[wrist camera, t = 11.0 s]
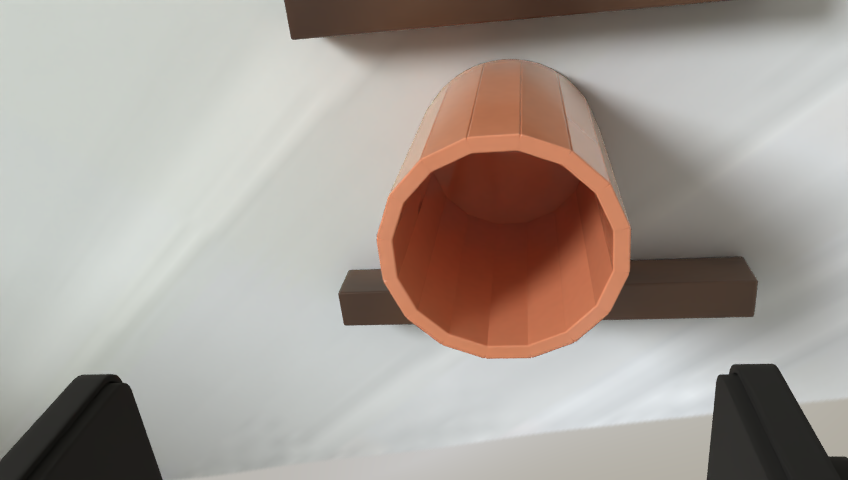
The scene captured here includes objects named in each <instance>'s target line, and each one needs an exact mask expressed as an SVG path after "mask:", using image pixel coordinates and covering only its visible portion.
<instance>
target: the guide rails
mask: <svg viewBox="0 0 848 480" xmlns="http://www.w3.org/2000/svg"><path fill="white" fill-rule="evenodd" d="M719 1H730V0H284V2H285V7H286V13H287V18H288V24H289V29H290V34H291V39H293V40H296V39H308V38H319V37H330V36H341V35H352V34H363V33H374V32H386V31H397V30H408V29H419V28H430V27H441V26H452V25H463V24H475V23H486V22H497V21H508V20H519V19H530V18H541V17H552V16H564V15H575V14H586V13H597V12H608V11H619V10H630V9H641V8H653V7H664V6H675V5H686V4H697V3H708V2H719ZM757 286H758V281H757V279H756V277H755V276H754V274H753V272H752V271H751V269H750V267H749V266H748V264H747V262H746V261H745V259H744V258H743V257H722V258H693V259H663V260H634V261H630V272H629V276H628V278H627V280H626V282H625V284H624V286H623V288H622V290H621V292H620V294H619V296H618V298H617V300H616V302H615V304H614V306H613V308H612V310H611V311H610V312H609V314H608V315H607V316H606V317H604V318H603V319H602V320H630V319H677V318H725V317H753V316H754V312H755V303H756V295H757ZM338 295H339V300H340V305H341V311H342V316H343V322H344V325H394V324H413V323H412V322H411V321H409V320H408V319H407V317H405V315H404V314H403V312H402V311H401V309H400V307H399V306H398V304H397V303H396V301H395V299H394V298H393V296H392V295H391V293H390V291H389V290H388V288H387V287H386V285H385V283H384V280H383V279H382V272H381V269H371V270H350V271H348V274H347V276H346V278H345V280H344V282H343V284H342V287H341V289H340V291H339V293H338Z"/></svg>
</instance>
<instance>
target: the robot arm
mask: <svg viewBox="0 0 848 480" xmlns="http://www.w3.org/2000/svg"><path fill="white" fill-rule="evenodd" d="M0 480H163V479H162V476H161V474H160V471H159V468H158V465H157V462H156V459H155V456H154V453H153V450H152V448H151V445H150V442H149V439H148V436H147V433H146V430H145V427H144V424H143V422H142V419H141V416H140V413H139V410H138V407H137V404H136V401H135V398H134V396H133V393H132V390H131V388H130V386H129V385H128V384H126V383H123V382H122V381H121V379H120V378H119V377H118V376H117V375H113V374H99V375H81V376H78V377H77V378H75V379H74V380H73V381H72V382H71V383H70V384H69V385H68V387H67V388H66V389H65V390H64V391H63V392H62V393H61V394H60V395H59V397H58V398H57V399H56V400H55V401H54V402H53V403H52V404H51V405H50V406H49V408H48V409H47V410H46V411H45V412H44V413H43V414H42V415H41V416H40V418H39V419H38V420H37V421H36V422H35V423H34V424H33V425H32V426H31V427H30V429H29V430H28V431H27V432H26V433H25V434H24V435H23V436H22V437H21V439H20V440H19V441H18V442H17V443H16V444H15V445H14V446H13V447H12V448H11V450H10V451H9V452H8V453H7V454H6V455H5V456H4V457H3V458H2V460H1V461H0ZM707 480H848V458H846V457H828V455H827V453H826V452H825V450H824V448H823V446H822V445H821V443H820V441H819V439H818V438H817V436H816V434H815V432H814V431H813V429H812V427H811V425H810V423H809V422H808V420H807V418H806V417H805V415H804V413H803V411H802V409H801V408H800V406H799V404H798V402H797V401H796V399H795V397H794V395H793V393H792V392H791V390H790V388H789V386H788V385H787V383H786V381H785V379H784V378H783V376H782V374H781V372H780V371H779V369H778V368H777V366H776V365H774V364H734V365H732V366H731V369H730V372H729V374H728V375H718V377H717V381H716V390H715V401H714V411H713V421H712V432H711V442H710V452H709V463H708V473H707Z"/></svg>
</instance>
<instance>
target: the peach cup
mask: <svg viewBox="0 0 848 480" xmlns="http://www.w3.org/2000/svg"><path fill="white" fill-rule="evenodd" d="M377 246H378V252H379V259H380V266H381V272H382V279H383V280H384V283H385V285H386V287H387V288H388V290H389V291H390V293H391V295H392V296H393V298H394V299H395V301H396V303H397V304H398V306H399V307H400V309H401V311H402V312H403V314H404V315H405V317H407V319H408V320H409V321H411V322H412V323H413V324H415V325H416V326H417V327H419V328H420V329H421V330H423V331H424V332H425V333H427V334H428V335H429V336H431V337H432V338H433V339H435V340H436V341H437V342H439V343H440V344H442V345H444V346H447V347H450V348H453V349H457V350H460V351H463V352H466V353H469V354H472V355H475V356H479V357H482V358H485V357H486V358H487V359H493V358H531V357H536V356H539V355H541V354H544V353H547V352H550V351H552V350H555V349H558V348H561V347H564V346H566V345H569V344H572V343H574V341H575V342H576V341H577V340H578V339H580V338H581V337H582V336H583V335H584V334H586V333H587V332H588V331H589V330H590V329H591V328H593V327H594V326H595V325H596V324H597V323H599V322H600V321H601V320H602V319H603V318H604V317H606V316H607V315H608V314H609V312H610V311H611V310H612V308H613V306H614V304H615V302H616V300H617V298H618V296H619V294H620V292H621V290H622V288H623V286H624V284H625V282H626V280H627V278H628V276H629V272H630V254H631V227H630V223H629V220H628V217H627V213H626V210H625V207H624V204H623V201H622V198H621V195H620V192H619V189H618V186H617V182H616V179H615V176H614V173H613V170H612V167H611V164H610V161H609V158H608V155H607V151H606V148H605V145H604V142H603V139H602V136H601V133H600V130H599V127H598V125H597V123H596V121H595V118H594V116H593V113H592V111H591V108H590V107H589V105H588V103H587V101H586V99H585V98H584V96H583V95H582V94H581V92H580V91H579V90H578V89H577V88H576V87H575V86H574V85H573V84H572V83H571V82H570V81H569V80H568V79H567V78H565V77H564V76H563V75H561V74H560V73H558V72H556V71H554V70H553V69H551V68H549V67H546V66H544V65H541V64H539V63H535V62H531V61H526V60H518V59H502V60H496V61H490V62H486V63H483V64H479V65H477V66H475V67H472V68H470V69H468V70H466V71H464V72H463V73H461V74H459V75H458V76H456V77H455V78H454V79H453V80H451V81H450V82H449V83H448V84H447V85H446V86H445V87H444V88H443V89H442V90H441V91H440V93H439V94H438V95H437V97H436V98H435V99H434V101H433V103H432V104H431V105H430V106H429V107H428V109H427V111H426V113H425V116H424V118H423V120H422V122H421V125H420V127H419V129H418V131H417V134H416V136H415V138H414V140H413V143H412V145H411V147H410V149H409V151H408V154H407V156H406V158H405V160H404V163H403V165H402V167H401V169H400V172H399V174H398V176H397V178H396V181H395V183H394V185H393V187H392V190H391V192H390V194H389V196H388V199H387V203H386V206H385V210H384V213H383V216H382V220H381V223H380V227H379V230H378V234H377Z"/></svg>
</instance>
